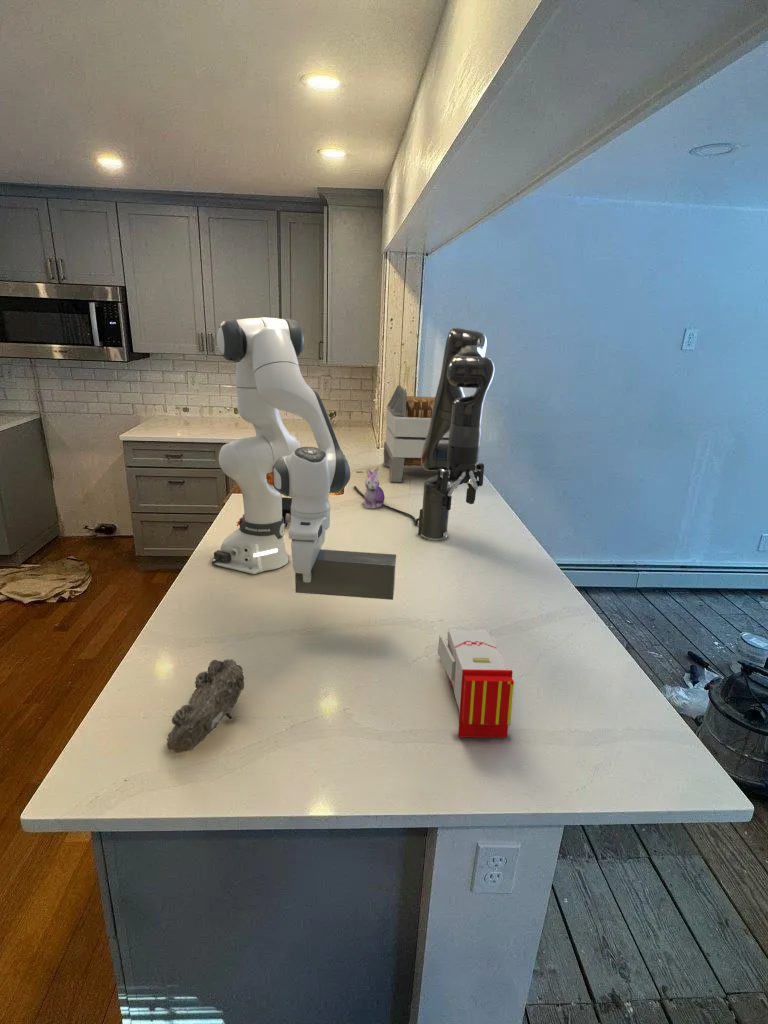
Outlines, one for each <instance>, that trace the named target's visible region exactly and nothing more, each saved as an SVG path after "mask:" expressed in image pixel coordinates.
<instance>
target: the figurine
mask: <svg viewBox="0 0 768 1024" xmlns="http://www.w3.org/2000/svg"><path fill="white" fill-rule="evenodd" d="M366 474H367V475H366V476H367V478H366V479H365V483H364V485H365V488H366V489H365V491H364V495H365V498H364V502H363V506H364V507H365V509H378V508H381V507H383V506H382V504H384V503H385V493H384V490H383V489H382V488H381V486H380V481H379V479H378V474H379V468H377V467H376V468H375V469H374V471H373V472H372V471H371V469H369V468H367V469H366ZM384 505H385V504H384Z"/></svg>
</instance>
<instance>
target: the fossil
mask: <svg viewBox="0 0 768 1024" xmlns="http://www.w3.org/2000/svg"><path fill="white" fill-rule="evenodd" d="M243 670H244V669H243V667H242V665H240V664H237V662H236V661H235V660H234V659H232V658H231V659H227V658H226V659H224V660H223V661H222V660H217V659H212V660H211V661H210V663H209V665H208V666H207V671H201V672H199V673H198V674H197V675H196V676H195V680H194V684H195V685H194V687H195V689H194V690H193V693H192V694H191V697H190V698H189V700H188V704H184V705H182V706H181V707H180V709H177V710H176V711H175V713H174V715H173V716H172V718H171V723H172V724H173V727H172V730H171V731H170V732H168V734H167V738H166V741H167V742H166V745H167V749H168V750H169V751H173V752H174V753H176V754H178V753H182V752H188V751H189V752H192V751H193V750H195V748H196V747H197V746H199V744H200V743H201V742H203V741H204V740H205V739H206V738H207V737H208V736H209V735H210V734H211V733H212V732H214V730H215V729H217V727H218V726H219V724H220V722H221V721H222V720H223V719H224V718H225V716H226V717H227V719H229V720H233V717H232V715H230V714H229V710H230V709H231V708H234V706H235V704H236V703H237V702H238V699H239V697H240V695H241V693H242V691H243V690H245V689H244V688H245V675H244V671H243Z"/></svg>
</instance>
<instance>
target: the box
mask: <svg viewBox="0 0 768 1024" xmlns="http://www.w3.org/2000/svg"><path fill="white" fill-rule="evenodd" d="M396 565H397V554H393V553H381V552H380V553H379V552H365V551H349V550H336V549H322V548H321V549H320V551H319V554H318V556H317V558H316V561H315V563H314V565H313V567H312V570H311V573H312V579H311V582H304V581H303V574H302V573H295V572H294V575H295V576H294V578H295V579H294V581H295V582H294V585H295V589H294V591H295V593H296V594H309V595H320V596H324V595H325V596H336V597H348V598H362V599H363V598H364V599H376V600H389V601H391V600H392V601H393V600H394V596H395V595H394V594H395V584H396V567H397V566H396Z"/></svg>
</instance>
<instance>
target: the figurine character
mask: <svg viewBox="0 0 768 1024" xmlns="http://www.w3.org/2000/svg"><path fill="white" fill-rule="evenodd" d="M291 504H292V498H291V497H286V496H284V497H283V496H282V516H283V518H284V528H287V527H288V525H289V524H291Z"/></svg>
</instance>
